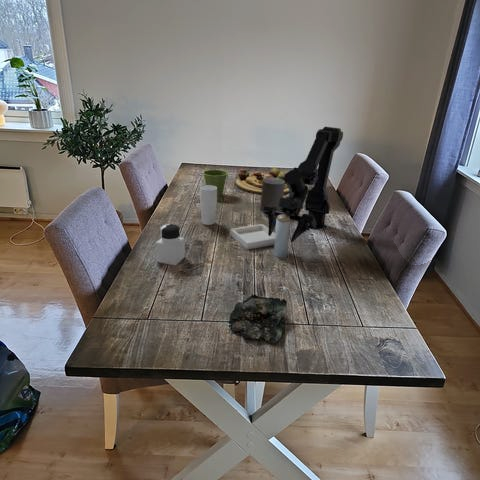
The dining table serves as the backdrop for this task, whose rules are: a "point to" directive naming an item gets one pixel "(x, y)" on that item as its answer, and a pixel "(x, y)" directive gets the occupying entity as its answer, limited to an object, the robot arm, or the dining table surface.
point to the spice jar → (282, 236)
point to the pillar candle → (272, 192)
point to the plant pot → (216, 179)
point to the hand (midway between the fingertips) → (280, 238)
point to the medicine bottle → (170, 245)
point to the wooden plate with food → (258, 180)
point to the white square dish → (253, 236)
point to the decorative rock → (259, 318)
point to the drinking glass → (208, 204)
